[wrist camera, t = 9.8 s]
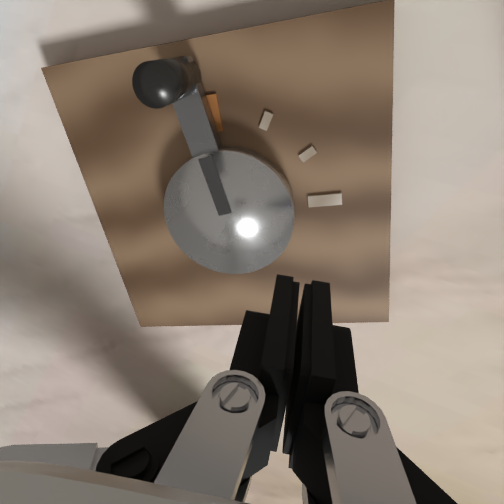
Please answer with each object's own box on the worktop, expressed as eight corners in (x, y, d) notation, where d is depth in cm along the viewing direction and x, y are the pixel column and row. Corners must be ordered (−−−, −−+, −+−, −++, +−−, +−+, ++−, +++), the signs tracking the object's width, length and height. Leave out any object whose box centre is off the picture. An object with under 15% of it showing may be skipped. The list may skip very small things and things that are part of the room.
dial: (308, 251, 30) (305, 292, 26) (197, 271, 33) (175, 312, 28) (250, 30, 23) (231, 29, 18) (115, 80, 26) (68, 90, 21)
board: (386, 311, 34) (389, 323, 33) (146, 317, 39) (140, 327, 38) (390, 0, 23) (395, -2, 21) (53, 66, 28) (39, 68, 27)
